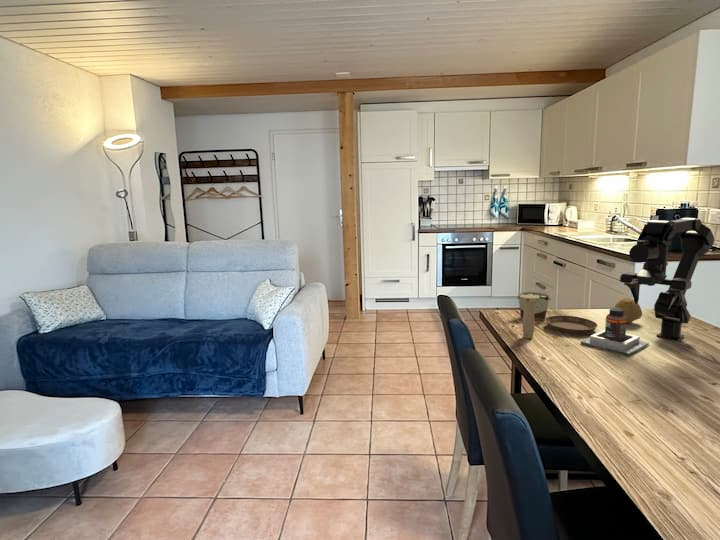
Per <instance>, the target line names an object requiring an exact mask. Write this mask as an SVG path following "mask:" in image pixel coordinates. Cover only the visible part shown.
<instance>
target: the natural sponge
mask: <svg viewBox="0 0 720 540" xmlns="http://www.w3.org/2000/svg"><path fill="white" fill-rule="evenodd" d="M614 308H620V309H623V310H624V314H623V315H624V316H625V317H626V324H630V323H633V322H634V321H637V320H640V319H641V318H642V316H643V310H642V308H641V306H640V304H639V303H638V304H635V302H634V298H633V297H630V296H629V297H628V296H625V297H623V298H622V297H621V298H620V299H619V300H618V301H617V302H616V303H615V305H614Z"/></svg>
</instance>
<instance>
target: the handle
mask: <svg viewBox="0 0 720 540" xmlns="http://www.w3.org/2000/svg"><path fill="white" fill-rule="evenodd" d="M520 300H521V301H523V302H524V314H523V318H522V334H523V335H522V336H523V338H525V339H532V338H534V337H533V336H534V331H535V323H536V322H535V320H536V319H535V316H534V305H535V303H536V302H538V301H539V296H535V295H520Z"/></svg>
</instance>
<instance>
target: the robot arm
mask: <svg viewBox="0 0 720 540" xmlns="http://www.w3.org/2000/svg"><path fill="white" fill-rule="evenodd" d="M676 234H678V237H679V239H680V241H681V243H680V246H681V249H682V252H683V253H682V254H681V258H680V260H679V262H678V265H677V267H676V269H675V272H674V275H673V277H672V279H667V276H668V275H667V274H666V273H667V266H668V264H669V262H668V255H669V252H668V251H669V246H670V245H672V241H670V240H671V239H672V238H673V237H675V235H676ZM714 243H715V236H714V234H713V232H712V230H711V228H710V227H708V226H706V225H705V224H703V223H702V221H701V219H700V218H696V217H682V218H679V219H675V220H656V219H655V220H654V219H653V220H652V219H651V220H648V221H647V222H646V223H645V224H644V225H643V227H642V229H641V232H640V234H639V235H638V238H637V240H636V244H634V245H633V246H632V247H631V248H630V250H629V251H628V252H629V255H628V256H629V257H630V259H631V260H632V262H635V263H643V266H642V268H641V269H640V271H639V272H631V271H628V272H623V273H622V274H620V275H619V276H620V277H619V282H620V283H623V285H624V286H627V287H628V288H629V290H630V293H631V294H632V295H631V296H632V299H634V302H635V304H639V300H640V291H641V290H640V289H641V288H640V287H641V285H644V286H645V285H646V286H648V287H653V286H655V285H663V286H669V287H668V289H667V290H666V291H660V292H659V294H658V296H657V299H656V301H655V303H654V305H653V306H654V307H653V309H654V318H655V319H661V325H660V332H659V333H657V334H656V337H658V338H663V339H668V340H672V341H676V342H677V341H680V340H682V339H683V338H685V335H683V334H682V325H683V324H689V322H690V321H691V314H690V312H689V311H688V309H687V307H688V302H687V300H686V297H685V296H686V292H687V291H688V290H689V289H691V288H692V284H693V283H692V278H693V275H694V273H695V270H696V268H697V266H698V263H699V260H700V258H701V257H703V256H705V254H707V253H709V251H710V249H711V247H712V246H713V245H714Z"/></svg>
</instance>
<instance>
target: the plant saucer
mask: <svg viewBox="0 0 720 540" xmlns="http://www.w3.org/2000/svg"><path fill="white" fill-rule="evenodd" d="M544 321H545V323H546V325H547V326H548V328H550V329H551V330H552V331H554V332H557V333H560V334H565V335H573V336H583V335H584V336H585V335H588V334H591V333H593V332H594V331H595V330H596V329H597V327H598V324H597V322H596V321H594V320H591V319H588V318H585V317H580V316H573V315H552V316H551V315H550V316H548V317H547V316H546V318H545V320H544Z"/></svg>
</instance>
